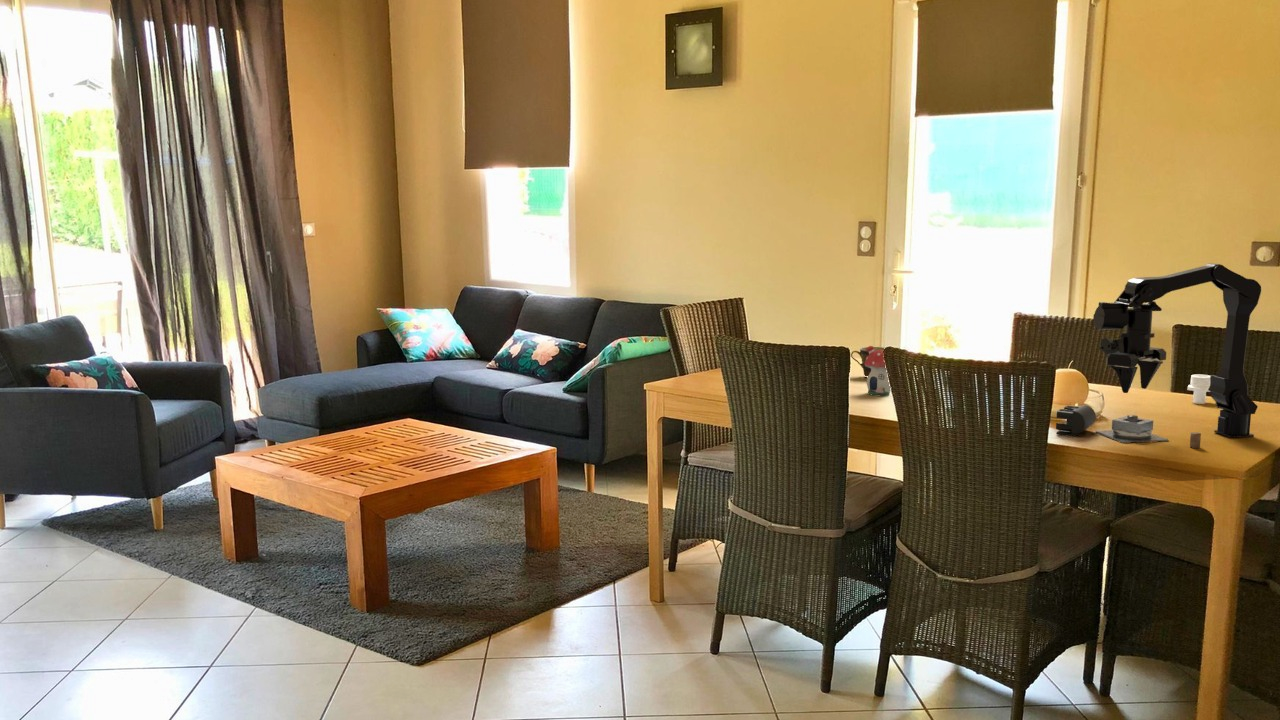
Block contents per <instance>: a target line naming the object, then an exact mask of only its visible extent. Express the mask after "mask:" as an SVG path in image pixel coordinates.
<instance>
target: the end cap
mask: <svg viewBox="0 0 1280 720" xmlns="http://www.w3.org/2000/svg"><path fill="white" fill-rule="evenodd" d="M1096 418H1097V415H1096V412H1095V410H1094V409H1093V408H1092V407H1091V406H1090V405H1087V404H1083V405H1081V406H1075V405H1065V406H1064V407H1063V408H1060V409H1058V410H1057V411H1056V419H1063V420H1066V421H1065V422H1062V423H1061V422H1056V423H1055V429H1056V430H1057V431H1056V435H1058V434H1059V435H1060V436H1066V435H1067V437H1076V436H1077V435H1079V434H1081V433H1083V432H1084V431H1086V430H1088V429H1089V428H1090V427H1091V426H1093V425H1094V423H1095V422H1096Z"/></svg>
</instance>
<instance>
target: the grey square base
mask: <svg viewBox="0 0 1280 720" xmlns="http://www.w3.org/2000/svg"><path fill="white" fill-rule="evenodd" d="M1112 429H1113V430H1119V431H1125V432H1131V433H1137V434H1141V433H1144V432H1147V431H1153V430H1154V420H1153V419H1145V418H1140V417H1138V422H1137V423H1136V422H1130V421H1127V415H1125V416H1122V417H1117V418H1115V419H1112V420H1111V430H1112Z"/></svg>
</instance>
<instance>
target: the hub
mask: <svg viewBox="0 0 1280 720" xmlns="http://www.w3.org/2000/svg"><path fill="white" fill-rule="evenodd" d="M1126 416H1127V421H1130V422H1136V423H1137V422H1138V418H1139V416H1138V415H1135V414H1128V415H1126ZM1152 431H1153V430H1151V431H1147V432H1144V433H1141V434H1137V433H1131V432H1125V431H1119V430H1113V429H1112V428H1111V429H1110V430H1095V433H1096V434H1098V435H1101V436H1103V437H1106V438H1108V439H1110V440H1113V439H1114V440H1113V441H1116V440H1117V442H1119V441H1120V442H1119V443H1121V442H1123V443H1122V444H1130V443H1129V442H1141V443H1151V442H1150V441H1162V442H1169V441H1170V440H1169V439H1168V438H1165V437H1163V436H1160V435H1156V434H1154V433H1153V432H1152ZM1127 442H1128V443H1127Z"/></svg>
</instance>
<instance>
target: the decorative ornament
mask: <svg viewBox="0 0 1280 720" xmlns="http://www.w3.org/2000/svg"><path fill="white" fill-rule="evenodd" d="M866 347H867V348H866V351H867V352H869V356H868V357H867V358H866V360H865V366H866V367H869V368H871V372H870V374H869V376H868V378H867V379H866V386H867V389H868V391H867V394H868V393H869V394H868V395H870V394H872V395H871V396H874V395H888V396H890V393H891V390H890V386H889V382H888V377H887V372H888V371H887V372H886V368H885V362H884V357H883V350H876V351H874V347H875V346H872V345H869V346H866Z"/></svg>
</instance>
